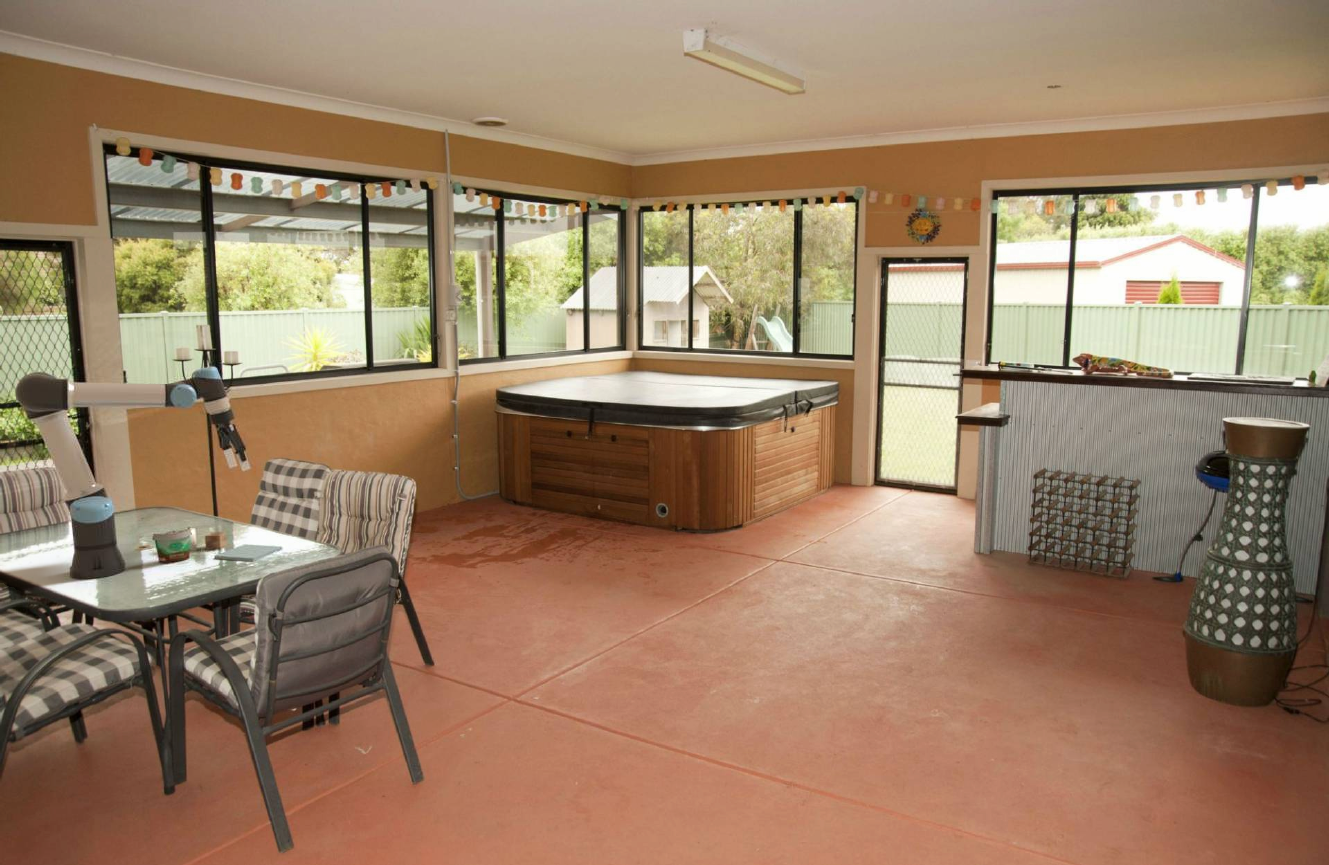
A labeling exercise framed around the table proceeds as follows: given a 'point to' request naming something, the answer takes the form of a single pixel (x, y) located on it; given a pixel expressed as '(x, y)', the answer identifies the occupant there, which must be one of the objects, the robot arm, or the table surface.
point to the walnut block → (216, 540)
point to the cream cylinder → (192, 539)
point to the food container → (173, 546)
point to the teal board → (248, 552)
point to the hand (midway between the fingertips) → (239, 468)
